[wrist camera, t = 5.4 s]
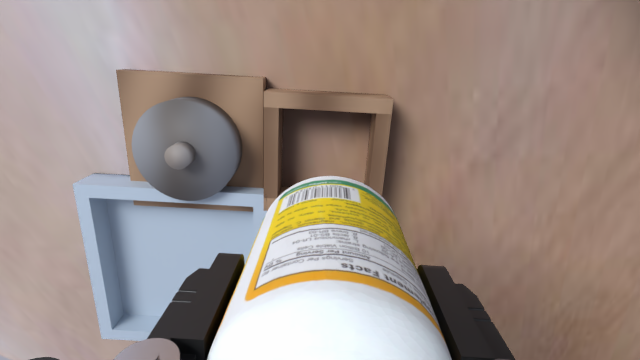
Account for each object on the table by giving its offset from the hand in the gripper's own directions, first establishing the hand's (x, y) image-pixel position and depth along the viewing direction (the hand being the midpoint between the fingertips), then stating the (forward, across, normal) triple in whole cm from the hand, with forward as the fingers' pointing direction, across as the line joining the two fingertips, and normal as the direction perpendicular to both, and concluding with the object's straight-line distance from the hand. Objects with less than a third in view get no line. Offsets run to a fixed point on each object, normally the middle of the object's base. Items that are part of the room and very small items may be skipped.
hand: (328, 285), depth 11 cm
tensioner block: (+17, +5, 0) cm, 18 cm away
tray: (+17, +11, +10) cm, 23 cm away
